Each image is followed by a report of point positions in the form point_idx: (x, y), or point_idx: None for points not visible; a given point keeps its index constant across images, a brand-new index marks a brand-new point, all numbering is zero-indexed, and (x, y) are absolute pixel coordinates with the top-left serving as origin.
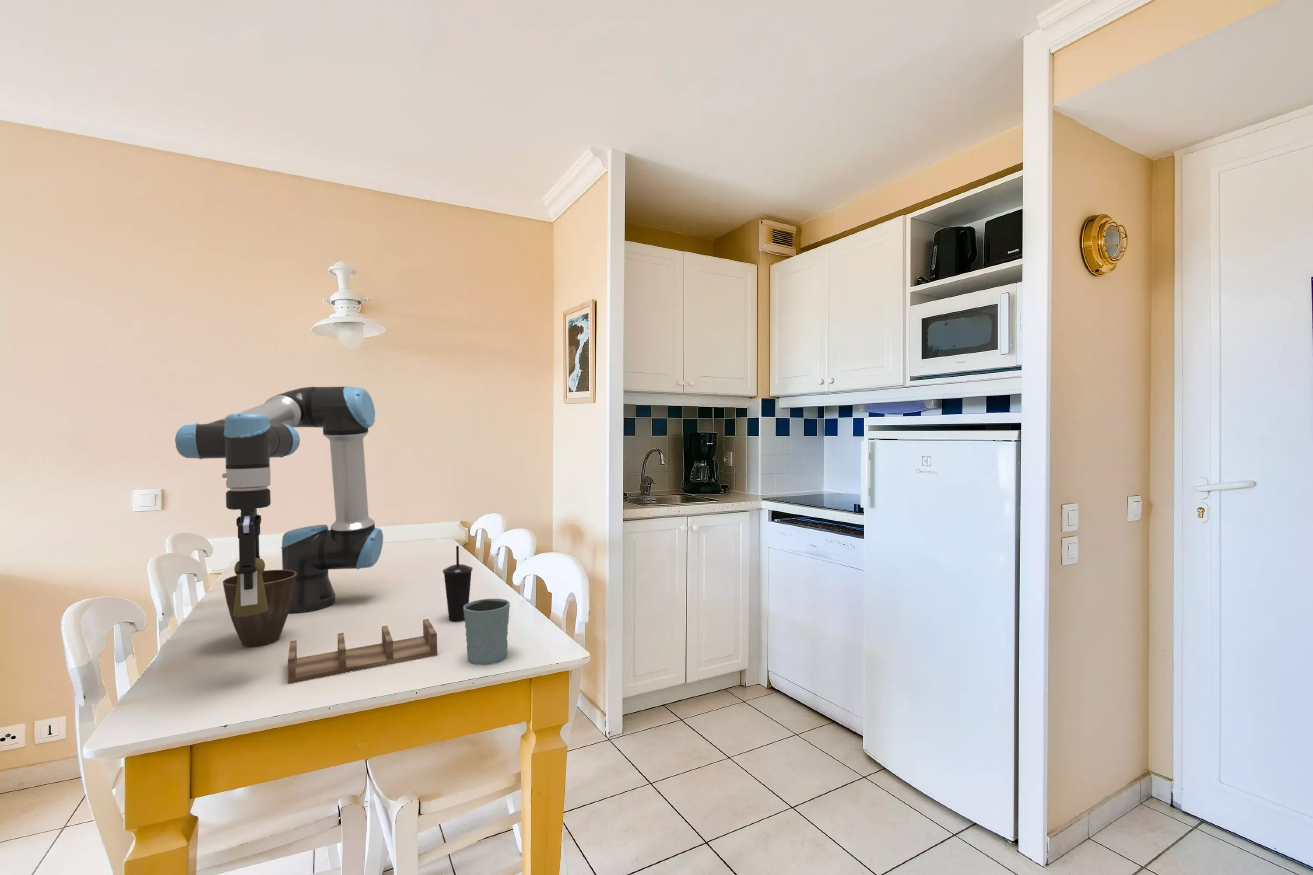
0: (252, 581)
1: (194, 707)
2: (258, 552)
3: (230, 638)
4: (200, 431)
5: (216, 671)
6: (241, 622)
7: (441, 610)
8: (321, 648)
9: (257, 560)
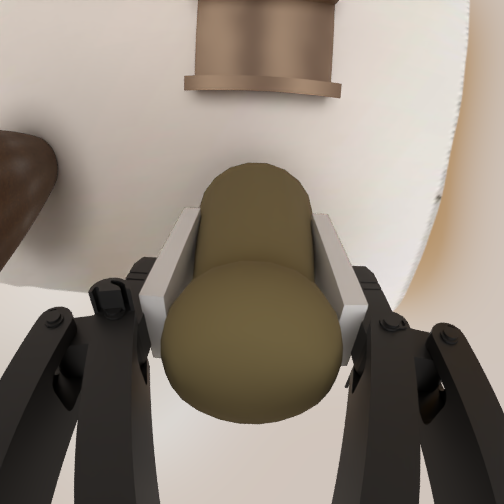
0: (366, 288)
1: None
2: (54, 354)
3: None
4: None
5: (165, 220)
6: (36, 215)
7: None
8: (128, 37)
9: (305, 356)
